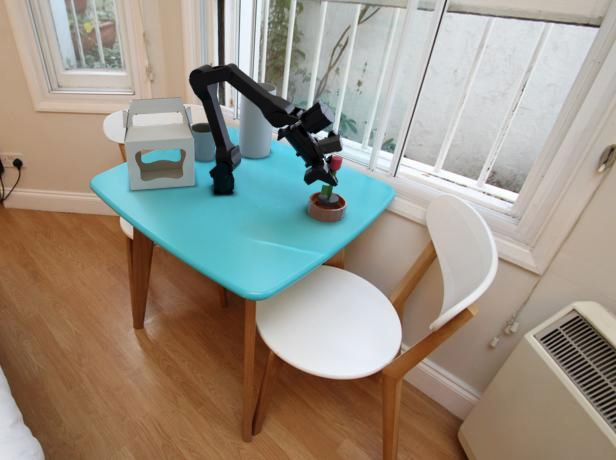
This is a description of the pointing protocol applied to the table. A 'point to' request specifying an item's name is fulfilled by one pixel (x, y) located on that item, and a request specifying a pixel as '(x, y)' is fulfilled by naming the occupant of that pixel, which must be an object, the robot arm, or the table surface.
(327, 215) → the bowl
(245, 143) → the cylinder vase
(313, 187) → the table surface
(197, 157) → the grey cup
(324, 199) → the tulip
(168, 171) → the gable box
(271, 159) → the table surface
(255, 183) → the table surface
